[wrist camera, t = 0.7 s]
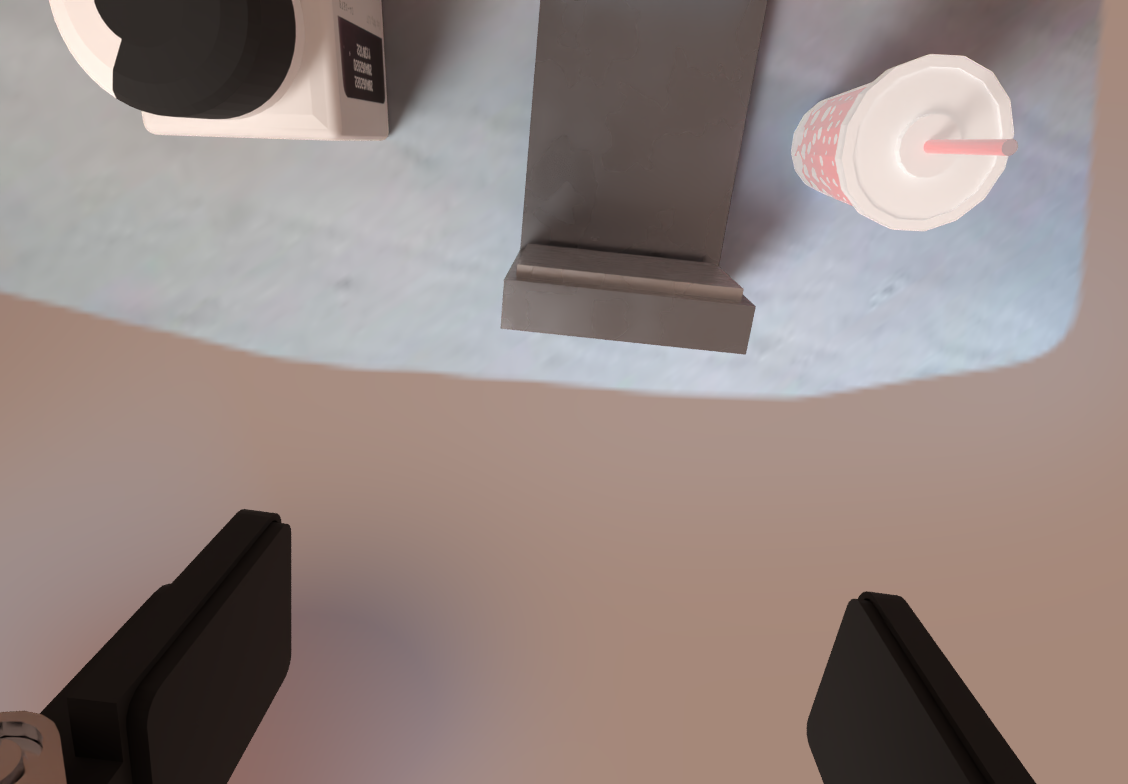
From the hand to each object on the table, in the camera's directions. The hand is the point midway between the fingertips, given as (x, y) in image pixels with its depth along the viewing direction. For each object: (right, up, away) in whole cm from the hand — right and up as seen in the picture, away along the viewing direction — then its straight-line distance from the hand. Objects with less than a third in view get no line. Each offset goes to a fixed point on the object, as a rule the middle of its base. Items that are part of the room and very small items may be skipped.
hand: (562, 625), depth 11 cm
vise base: (+4, +17, +21) cm, 28 cm away
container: (-12, +20, +21) cm, 32 cm away
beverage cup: (+13, +16, +22) cm, 30 cm away
